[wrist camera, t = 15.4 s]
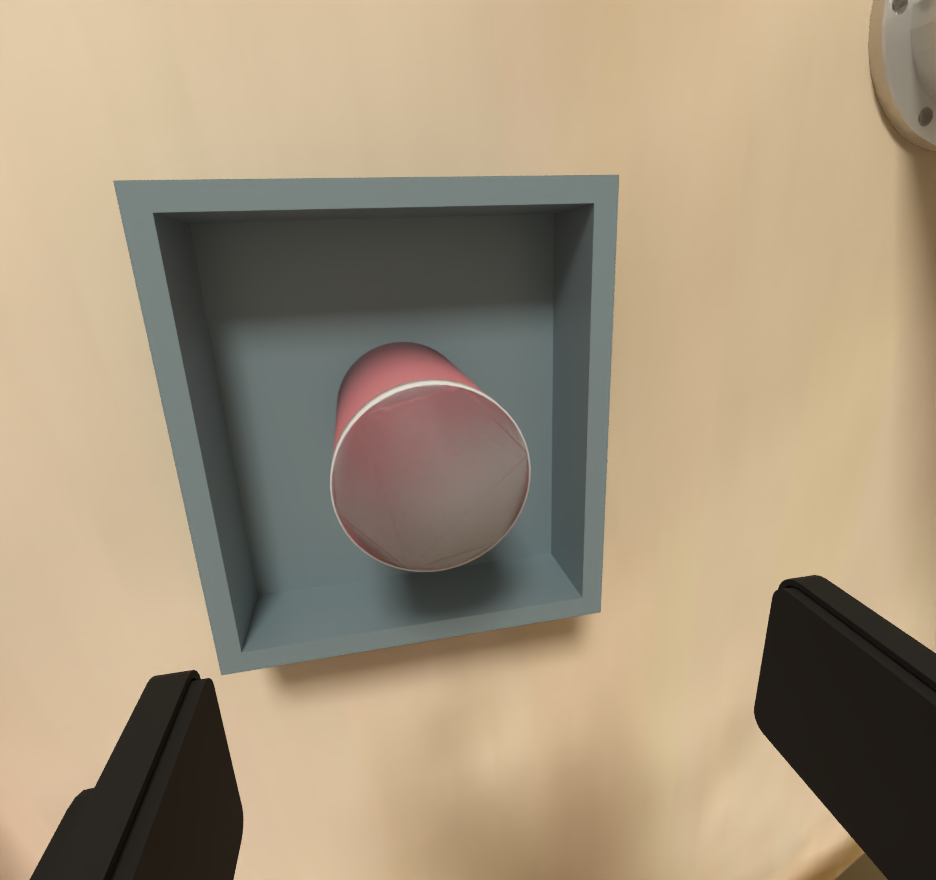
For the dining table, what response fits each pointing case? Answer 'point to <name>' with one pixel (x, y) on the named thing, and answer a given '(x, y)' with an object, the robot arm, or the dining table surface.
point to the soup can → (423, 461)
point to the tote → (332, 354)
